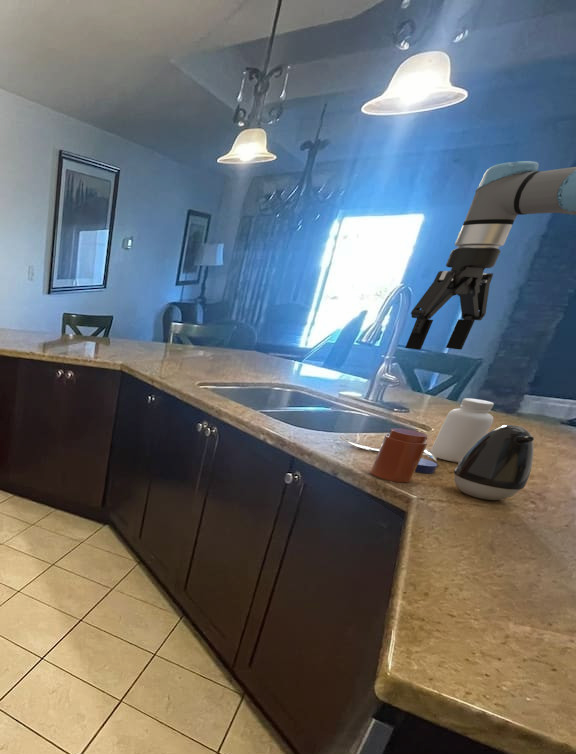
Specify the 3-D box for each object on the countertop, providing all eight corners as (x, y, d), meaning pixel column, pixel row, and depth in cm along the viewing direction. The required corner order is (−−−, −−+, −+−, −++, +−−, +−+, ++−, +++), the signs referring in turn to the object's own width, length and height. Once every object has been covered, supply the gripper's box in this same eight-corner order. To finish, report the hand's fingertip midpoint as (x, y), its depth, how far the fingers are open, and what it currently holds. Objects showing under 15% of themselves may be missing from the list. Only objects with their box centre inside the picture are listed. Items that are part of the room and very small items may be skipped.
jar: (413, 478, 110) (433, 433, 106) (406, 485, 106) (427, 439, 102) (374, 468, 115) (392, 425, 111) (366, 474, 111) (384, 430, 107)
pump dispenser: (462, 500, 100) (499, 428, 93) (436, 481, 108) (468, 415, 102) (528, 510, 96) (571, 436, 90) (495, 490, 105) (532, 422, 99)
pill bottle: (476, 466, 119) (507, 406, 113) (432, 459, 123) (460, 400, 117) (466, 457, 125) (495, 400, 119) (425, 450, 129) (451, 395, 123)
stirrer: (343, 431, 129) (344, 427, 132) (337, 443, 131) (338, 440, 134) (444, 455, 118) (442, 450, 121) (436, 468, 119) (435, 463, 122)
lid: (385, 463, 119) (388, 456, 118) (405, 460, 121) (408, 453, 120) (421, 474, 112) (424, 467, 112) (441, 471, 115) (445, 464, 114)
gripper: (493, 251, 112) (450, 346, 120) (416, 245, 105) (377, 346, 113) (537, 250, 105) (489, 351, 113) (458, 244, 98) (413, 351, 107)
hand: (433, 348), depth 113 cm, fingers open, 13 cm apart
